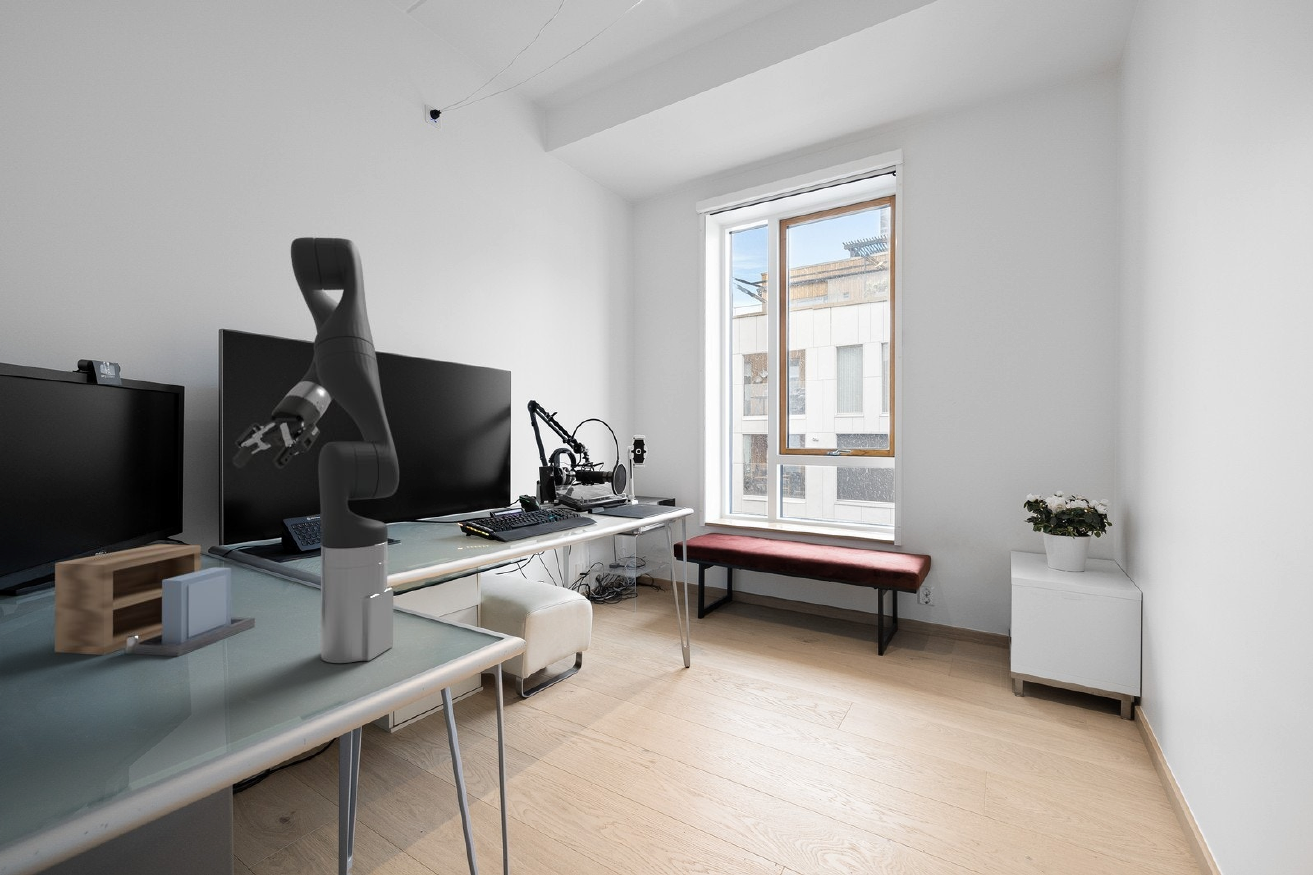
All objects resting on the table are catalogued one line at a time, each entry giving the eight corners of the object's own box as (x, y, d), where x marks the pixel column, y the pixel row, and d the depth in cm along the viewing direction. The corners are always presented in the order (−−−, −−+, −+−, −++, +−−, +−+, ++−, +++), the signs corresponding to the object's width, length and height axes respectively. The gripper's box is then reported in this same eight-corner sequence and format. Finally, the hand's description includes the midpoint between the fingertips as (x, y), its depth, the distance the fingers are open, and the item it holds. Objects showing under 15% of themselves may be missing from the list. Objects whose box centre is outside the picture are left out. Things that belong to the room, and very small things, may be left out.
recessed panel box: (231, 630, 98) (231, 568, 98) (182, 649, 90) (182, 580, 90) (213, 629, 99) (213, 567, 99) (161, 648, 90) (162, 580, 90)
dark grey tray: (255, 625, 101) (255, 612, 101) (177, 656, 86) (177, 640, 86) (208, 623, 102) (208, 609, 102) (123, 653, 88) (123, 637, 88)
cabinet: (200, 621, 103) (200, 545, 103) (104, 654, 87) (104, 564, 87) (157, 619, 104) (157, 544, 104) (54, 652, 88) (55, 563, 88)
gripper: (261, 394, 115) (210, 451, 104) (324, 393, 114) (279, 451, 102) (281, 420, 121) (235, 478, 109) (342, 420, 119) (301, 478, 107)
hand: (256, 465), depth 106 cm, fingers open, 8 cm apart
